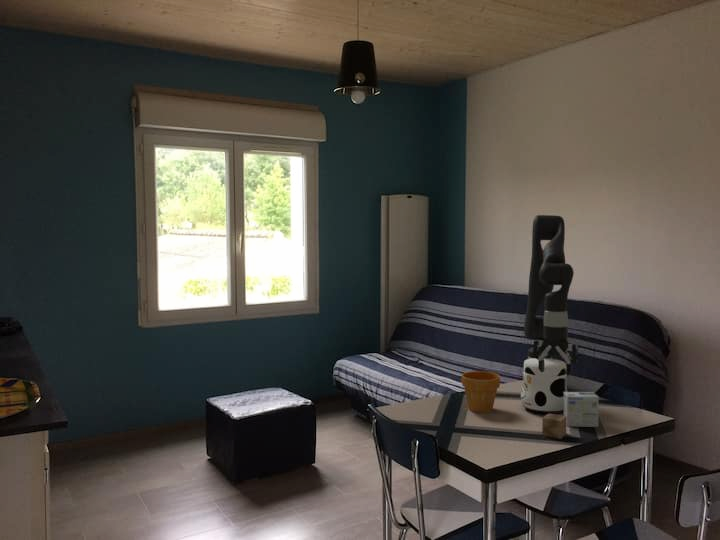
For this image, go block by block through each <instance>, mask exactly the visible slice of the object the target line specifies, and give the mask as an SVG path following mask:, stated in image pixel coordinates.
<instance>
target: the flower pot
mask: <svg viewBox="0 0 720 540" xmlns="http://www.w3.org/2000/svg"><path fill="white" fill-rule="evenodd" d="M461 385H462V387H463V388H464V392H465V399H466V402H467V407H468V410H469V411H472V412H475V413H489V412H492V411H493V409H494V405H495V400H496V396H497V392H498V391H497V390H498V389H500V385H501V376H500V374H497V373H495V372H490V371H481V370H480V371H478V370H476V371H474V370H473V371H467V372H464V373H462V374H461Z"/></svg>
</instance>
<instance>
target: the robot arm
mask: <svg viewBox="0 0 720 540" xmlns="http://www.w3.org/2000/svg"><path fill="white" fill-rule="evenodd" d="M565 231H566V230H565V220H564V218H563V217H562V216H561V215H555V214H554V215H550V214H549V215H547V214H546V215H545V214H541V215H540V214H538V215H535V216H534V218H533V222H532V231H531V234H532V237H531V239H532V240H531V259H530V269H529V278H528V296H527V306H526V311H525V318H524V325H523V326H524V327H523V332H524V337H525V339H527V340H528V341H529V340H531V341H533V345H532V347H530V348H529V349H527V359H533V358H536V359H538V361H539V370H540V372H544V358H547V359H553V356H556V357H560V356H561V358H562V359H564V362H565V363H566V375H567V376H570V375H571V374H572V373H573V364H575V363H578V362H579V359H580V358H579V344H578V343H569V341H568V339H569V337H568V336H569V333H568V332H569V327H568V326H569V318H568V317H569V316H568V297H569V292H570V288H571V285H572V281H573V277H574V274H575V273H574V268H573V267H572V265H571V264H570V263H566V256H565V236H566V235H565V234H566V233H565ZM542 241H547V243H546V244H545V246H544V248H543V247H542V244H541V243H542ZM554 286H560V288H559V289H558V290H556V291H554V288H555V287H554ZM543 304H544V313H543V316H537V313H538V312H539V309H540V308H541V306H542V305H543ZM568 349H570V351H571V355H572V357H571V356H570V354H569V352H568V351H567V350H568Z"/></svg>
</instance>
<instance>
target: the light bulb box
mask: <svg viewBox="0 0 720 540" xmlns="http://www.w3.org/2000/svg"><path fill="white" fill-rule="evenodd" d="M563 416H566V427H573V428H574V427H579V428H581V427H583V428H584V427H585V428H599V396H598V395H597V394H596V393H595V392H594V391H568V392H564V411H563Z"/></svg>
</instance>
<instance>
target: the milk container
mask: <svg viewBox="0 0 720 540" xmlns="http://www.w3.org/2000/svg"><path fill="white" fill-rule="evenodd" d="M566 364H567V362H566V361H562V360H560V359H555V358H552V359H547V358H544V372H540V370H539V361H538V359H536V358H533V359H528V358H527V359H525V360H524V361H523V372H522V373H523V377H522V378H523V380H522V381H523V383H522V387H521V390H520V391H521V392H520V400H521V401H520V402H521V405H522V406H523V407H524V408H525V409H527V410H529V411H531V412H537V413H540V414H541V413H543V414H548V413H549V414H554V413H555V414H557V413H561V412H564V392H569V391H568V389H567V388H568V387H567V381H568V380H567V378H568V377H567V376H568V375H566Z"/></svg>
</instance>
